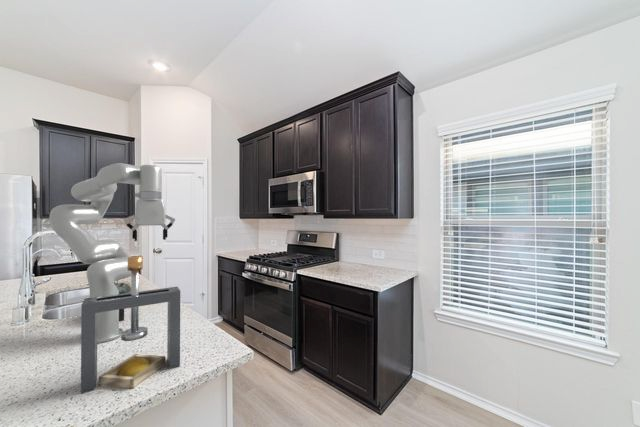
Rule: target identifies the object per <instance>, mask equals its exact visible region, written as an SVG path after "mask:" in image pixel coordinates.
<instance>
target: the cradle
mask: <svg viewBox="0 0 640 427" xmlns="http://www.w3.org/2000/svg"><path fill="white" fill-rule="evenodd" d="M136 358H143V359H146V360H147V361H148V362H149V363H150V365H149V366H148V367H146V368H145V369H144V370H142V371H141V372H140V373H138V374H137V375H135V376H134V377H128V376H120V374H119V372H120V369H121V367H122V366H123V365H124V364H126V363H127V362H128V361H130V360H132V359H136ZM164 365H166V355H165V356H164V355H153V354H142V353H141V354H140V353H134V354H133V355H131V356H129V357H128V358H127V359H124V360H123V361H122V362H119V363H118V364H116V365H115V366H114V367H112V368H110V369H108V370H107V371H105V372H104V373H102V374H101V375H99V376H98V385H99V386H104V387H105V386H106V387H115V388H126V389H135V388H136V387H137V386H139V385H140V384H141V383H143V382H144V381H145V380H147V379H148V378H149V377H150V376H152V375H153V374H154V373H155V372H157V371H158V370H160V369H161V368H162V367H163V366H164Z"/></svg>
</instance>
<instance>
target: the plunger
mask: <svg viewBox="0 0 640 427" xmlns="http://www.w3.org/2000/svg"><path fill="white" fill-rule="evenodd" d="M143 257H144V256H143V255H137V256H136V255H135V256H133V255H132V256H131V257H128V264H127V270H128V271H131V276H130V280H131V282H130V284H131V285H130V286H131V287H130V289H131V290H130V293H131V296H136V295H139V291H140V289H139V288H140V271H142V270H143V268H144V267H143V266H144V265H143V264H144V262H143V261H144V260H143V259H144V258H143ZM139 307H140V306H138V307H132V308H130V328H128V329H125V330H123V332H122V333H121V336H120V340H121V341H124V342H132V341H133V342H134V341H137V340H141V339H143V338H145V337H147V335H148V333H149V332H148V331H149V330H148V327H147V326H139V325H140V324H139V323H140V322H139V310H140V309H139Z"/></svg>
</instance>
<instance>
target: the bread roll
mask: <svg viewBox="0 0 640 427" xmlns="http://www.w3.org/2000/svg"><path fill="white" fill-rule="evenodd" d="M149 365H150V363H149V362H148V361H147V360H146V359H143V358H136V359H132V360H130V361H128V362H127V363H126V364H124V365H123V366H122V367H121V369H120V372H119V376H128V377H134V376H135V375H137V374H138V373H140V372H141V371H142V370H144V369H145V368H146V367H148V366H149Z"/></svg>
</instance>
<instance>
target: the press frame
mask: <svg viewBox="0 0 640 427" xmlns="http://www.w3.org/2000/svg"><path fill="white" fill-rule="evenodd" d="M163 303H167V331H166V332H167V345H166V346H167V348H166V349H167V352H166V353H167V354H166V356H167V358H166V360H167V364H168V368H169V370H171V369H172V370H173V369H175V368H176V369H177V368H179V367H181V290H180V288H179V287H178V286H172V287H165V288H164V287H163V288H157V289H149V290H139V295H136V296H131V292H126V293H124V294H116V295H108V296H100V297H92V298H90V297H87V298H86V297H85V298H84V299H83V302H82V303H81V309H80V310H81V312H80V313H81V316H80V317H81V321H80V322H81V326H80V328H81V330H80V332H81V333H80V334H81V336H80V338H81V341H80V343H81V344H80V394H81V395H82V394H85V393H89V392H93V391H95V390H96V384H97V381H98V380H97V379H98V343H97V315H98V313H99V312H106V311H112V310H119V309H124V310H126V309H131V308H132V307H138V306H139V307H143V306H152V305H156V304H163Z"/></svg>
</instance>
